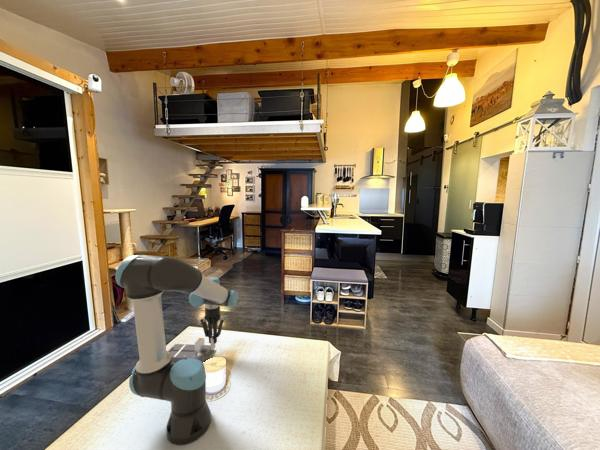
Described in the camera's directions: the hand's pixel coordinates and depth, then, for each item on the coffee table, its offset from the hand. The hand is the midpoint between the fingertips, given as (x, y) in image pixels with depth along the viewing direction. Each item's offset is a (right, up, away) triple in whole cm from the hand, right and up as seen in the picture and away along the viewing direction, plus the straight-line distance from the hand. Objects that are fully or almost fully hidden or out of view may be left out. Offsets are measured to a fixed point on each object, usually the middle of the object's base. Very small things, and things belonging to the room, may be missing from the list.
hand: (213, 348), depth 131 cm
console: (-13, -4, +1) cm, 14 cm away
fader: (-7, -2, 0) cm, 8 cm away
